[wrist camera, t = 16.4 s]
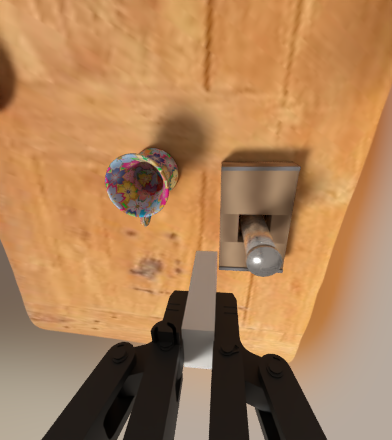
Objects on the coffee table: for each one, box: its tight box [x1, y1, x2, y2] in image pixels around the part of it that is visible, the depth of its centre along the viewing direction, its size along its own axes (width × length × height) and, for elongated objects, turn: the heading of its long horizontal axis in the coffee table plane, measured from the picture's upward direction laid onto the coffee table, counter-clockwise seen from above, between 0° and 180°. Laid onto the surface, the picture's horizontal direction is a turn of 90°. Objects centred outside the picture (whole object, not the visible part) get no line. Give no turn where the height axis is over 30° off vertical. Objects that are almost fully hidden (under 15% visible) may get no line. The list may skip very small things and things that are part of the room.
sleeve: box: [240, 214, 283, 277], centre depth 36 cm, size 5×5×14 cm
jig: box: [219, 162, 301, 273], centre depth 40 cm, size 12×20×4 cm, turn 1°
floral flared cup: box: [105, 148, 178, 227], centre depth 37 cm, size 12×9×11 cm
